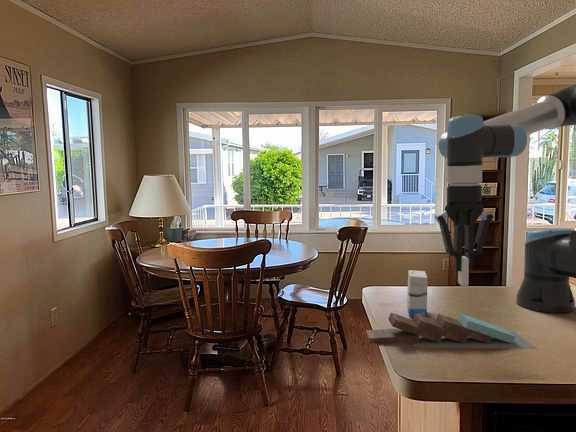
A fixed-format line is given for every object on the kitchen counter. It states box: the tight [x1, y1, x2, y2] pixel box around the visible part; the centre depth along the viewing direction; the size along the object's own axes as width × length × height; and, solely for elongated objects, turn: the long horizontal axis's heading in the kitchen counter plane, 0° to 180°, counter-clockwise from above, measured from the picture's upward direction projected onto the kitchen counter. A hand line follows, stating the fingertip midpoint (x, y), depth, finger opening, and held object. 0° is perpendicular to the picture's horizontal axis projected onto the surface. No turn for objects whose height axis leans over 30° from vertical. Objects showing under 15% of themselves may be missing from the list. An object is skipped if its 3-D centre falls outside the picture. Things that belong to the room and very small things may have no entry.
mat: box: [412, 331, 536, 349], centre depth 106 cm, size 27×10×1 cm, turn 88°
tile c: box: [412, 313, 468, 344], centre depth 106 cm, size 2×5×12 cm
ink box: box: [406, 269, 428, 318], centre depth 125 cm, size 8×5×12 cm, turn 168°
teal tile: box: [457, 313, 515, 344], centre depth 105 cm, size 2×5×12 cm
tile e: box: [365, 328, 419, 345], centre depth 106 cm, size 2×5×12 cm
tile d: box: [387, 312, 442, 342], centre depth 106 cm, size 2×5×12 cm
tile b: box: [435, 313, 492, 344], centre depth 106 cm, size 2×5×12 cm
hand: (463, 284), depth 105 cm, fingers closed
